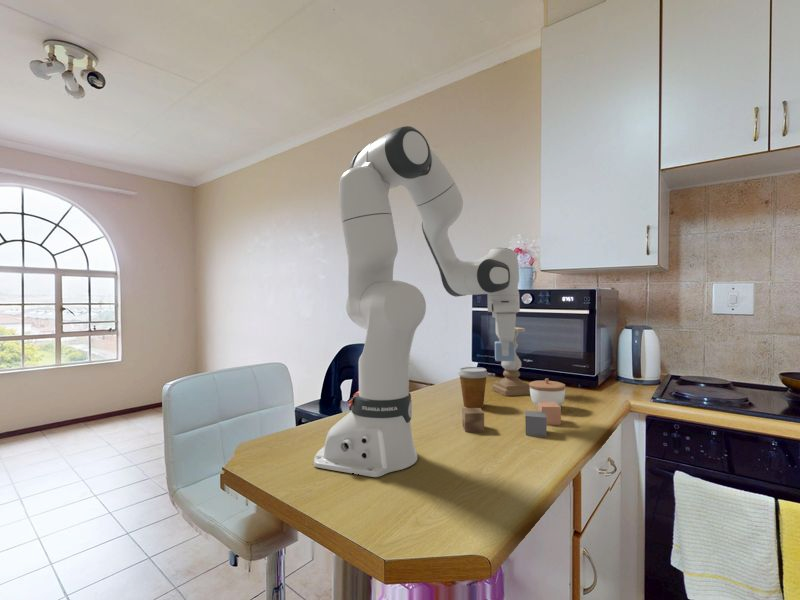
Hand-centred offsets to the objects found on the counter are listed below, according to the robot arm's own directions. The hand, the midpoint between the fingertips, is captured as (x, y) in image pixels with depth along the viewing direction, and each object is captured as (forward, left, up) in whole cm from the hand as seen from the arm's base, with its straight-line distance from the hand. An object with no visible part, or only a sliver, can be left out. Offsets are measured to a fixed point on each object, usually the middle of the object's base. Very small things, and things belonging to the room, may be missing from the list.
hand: (504, 354), depth 111 cm
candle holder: (+5, +36, -19) cm, 41 cm away
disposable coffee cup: (-9, +15, -19) cm, 26 cm away
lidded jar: (+14, +15, -19) cm, 28 cm away
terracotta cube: (+12, +1, -19) cm, 23 cm away
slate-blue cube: (0, 0, -2) cm, 2 cm away
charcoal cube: (+7, -9, -19) cm, 22 cm away
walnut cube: (-9, -8, -19) cm, 23 cm away
